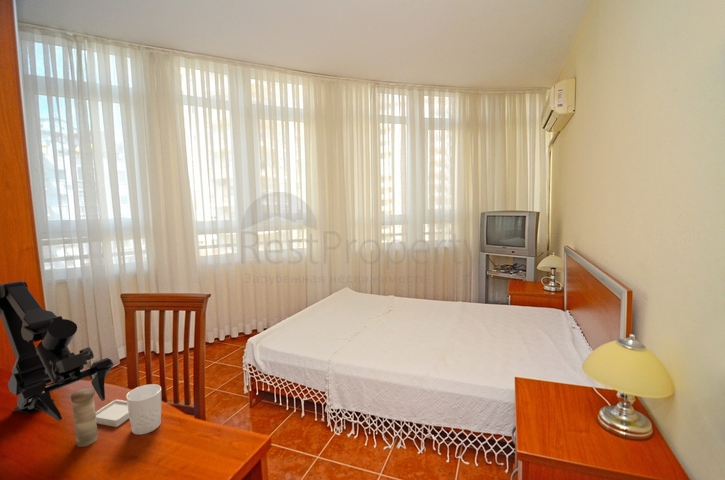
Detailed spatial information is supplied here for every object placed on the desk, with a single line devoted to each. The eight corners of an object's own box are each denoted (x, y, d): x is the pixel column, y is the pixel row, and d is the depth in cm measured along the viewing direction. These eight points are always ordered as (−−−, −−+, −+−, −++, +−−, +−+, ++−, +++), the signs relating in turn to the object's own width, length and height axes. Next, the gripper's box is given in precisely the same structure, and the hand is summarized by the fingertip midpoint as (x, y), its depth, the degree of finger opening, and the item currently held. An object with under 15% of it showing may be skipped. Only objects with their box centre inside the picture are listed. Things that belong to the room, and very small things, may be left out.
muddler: (70, 445, 85) (65, 397, 84) (88, 433, 90) (84, 386, 88) (85, 448, 84) (80, 399, 83) (103, 436, 89) (99, 389, 87)
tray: (89, 421, 94) (89, 415, 94) (116, 404, 102) (115, 399, 102) (116, 426, 92) (116, 420, 92) (141, 409, 100) (141, 403, 100)
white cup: (169, 418, 96) (167, 385, 95) (149, 437, 88) (147, 401, 87) (143, 416, 97) (141, 383, 96) (121, 435, 89) (118, 399, 88)
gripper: (16, 357, 78) (44, 416, 75) (107, 329, 95) (133, 376, 91) (6, 380, 83) (31, 437, 79) (94, 350, 99) (119, 396, 96)
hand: (83, 409), depth 86 cm, fingers open, 9 cm apart
